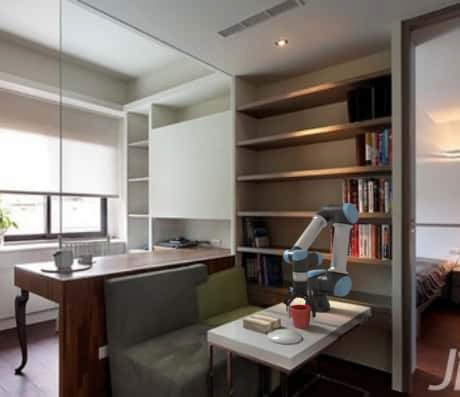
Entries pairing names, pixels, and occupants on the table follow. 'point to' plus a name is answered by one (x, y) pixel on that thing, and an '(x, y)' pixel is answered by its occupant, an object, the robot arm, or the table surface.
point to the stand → (262, 323)
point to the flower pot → (300, 315)
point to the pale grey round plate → (284, 336)
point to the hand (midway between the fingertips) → (300, 320)
